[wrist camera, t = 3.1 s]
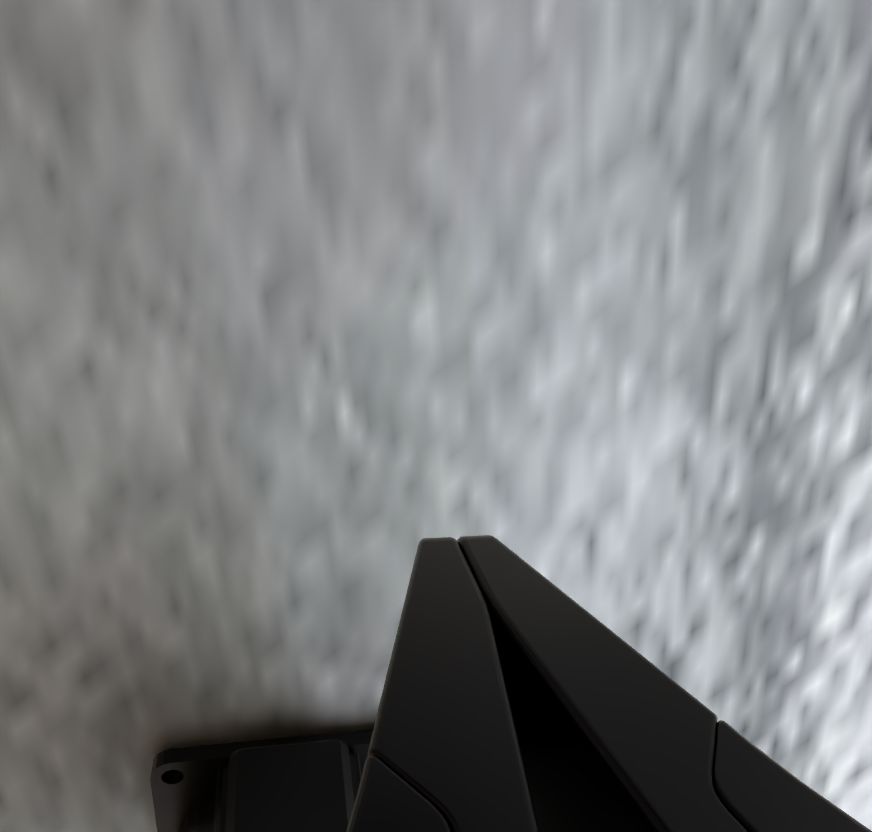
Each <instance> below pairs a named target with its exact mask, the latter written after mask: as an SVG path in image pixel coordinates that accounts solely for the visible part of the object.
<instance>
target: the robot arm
mask: <svg viewBox="0 0 872 832" xmlns="http://www.w3.org/2000/svg"><path fill="white" fill-rule="evenodd" d="M151 787H152V794H153V801H154V809H155V816H156V824H157V831H158V832H872V831H871V830H869V829H868V828H867V827H865V826H864V825H862V824H861V823H859V822H858V821H856V820H855V819H854V818H852V817H851V816H849V815H848V814H846V813H845V812H844V811H842V810H841V809H839V808H838V807H837V806H835V805H834V804H832V803H831V802H830V801H828V800H827V799H825V798H824V797H823V796H821V795H820V794H818V793H817V792H815V791H814V790H813V789H811V788H810V787H808V786H807V785H806V784H804V783H803V782H801V781H800V780H799V779H797V778H796V777H795V776H794V775H792V774H791V773H790V772H788V771H787V770H786V769H784V768H783V767H782V766H781V765H779V764H778V763H777V762H775V761H774V760H773V759H771V758H770V757H769V756H768V755H766V754H765V753H764V752H762V751H761V750H760V749H758V748H757V747H756V746H755V745H753V744H752V743H751V742H750V741H748V740H747V739H746V738H745V737H743V736H742V735H741V734H740V733H738V732H737V731H736V730H735V729H733V728H732V727H731V726H730V725H728V724H727V723H726V722H725V721H719V722H718V723H717V716H716V715H715V714H714V713H713V712H712V711H710V710H709V709H708V708H707V707H706V706H704V705H703V704H702V703H701V702H699V701H698V700H697V699H696V698H694V697H693V696H692V695H691V694H689V693H688V692H687V691H686V690H684V689H683V688H682V687H681V686H679V685H678V684H677V683H676V682H674V681H673V680H672V679H671V678H669V677H668V676H667V675H666V674H664V673H663V672H662V671H661V670H659V669H658V668H657V667H656V666H654V665H653V664H652V663H651V662H649V661H648V660H647V659H646V658H645V657H643V656H642V655H641V654H640V653H638V652H637V651H636V650H635V649H633V648H632V647H631V646H630V645H628V644H627V643H626V642H625V641H623V640H622V639H621V638H620V637H618V636H617V635H616V634H615V633H613V632H612V631H611V630H610V629H608V628H607V627H606V626H605V625H603V624H602V623H601V622H600V621H598V620H597V619H596V618H595V617H593V616H592V615H591V614H590V613H588V612H587V611H586V610H585V609H583V608H582V607H581V606H580V605H579V604H577V603H576V602H575V601H574V600H572V599H571V598H570V597H569V596H567V595H566V594H565V593H564V592H562V591H561V590H560V589H559V588H557V587H556V586H555V585H554V584H552V583H551V582H550V581H549V580H547V579H546V578H545V577H544V576H542V575H541V574H540V573H539V572H537V571H536V570H535V569H534V568H532V567H531V566H530V565H529V564H527V563H526V562H525V561H524V560H522V559H521V558H520V557H519V556H518V555H516V554H515V553H514V552H513V551H511V550H510V549H509V548H508V547H506V546H505V545H504V544H503V543H501V542H500V541H499V540H498V539H496V538H495V537H493V536H489V535H484V536H464V537H460V538H459V539H458V540H457V541H456V539H454V538H451V537H443V538H425V539H422V540H421V541H420V542H419V545H418V549H417V553H416V557H415V561H414V565H413V569H412V573H411V578H410V582H409V586H408V590H407V594H406V598H405V602H404V606H403V610H402V614H401V619H400V623H399V627H398V631H397V635H396V639H395V643H394V647H393V651H392V655H391V660H390V664H389V668H388V672H387V676H386V680H385V684H384V688H383V692H382V696H381V701H380V705H379V709H378V713H377V717H376V721H375V725H374V729H373V730H366V731H355V732H345V733H334V734H324V735H313V736H302V737H292V738H281V739H271V740H260V741H250V742H239V743H228V744H218V745H207V746H197V747H186V748H175V749H169V750H165V751H163V752H161V753H159V754H158V755H157V756H156V757H155V758H154V760H153V766H152V773H151Z"/></svg>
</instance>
